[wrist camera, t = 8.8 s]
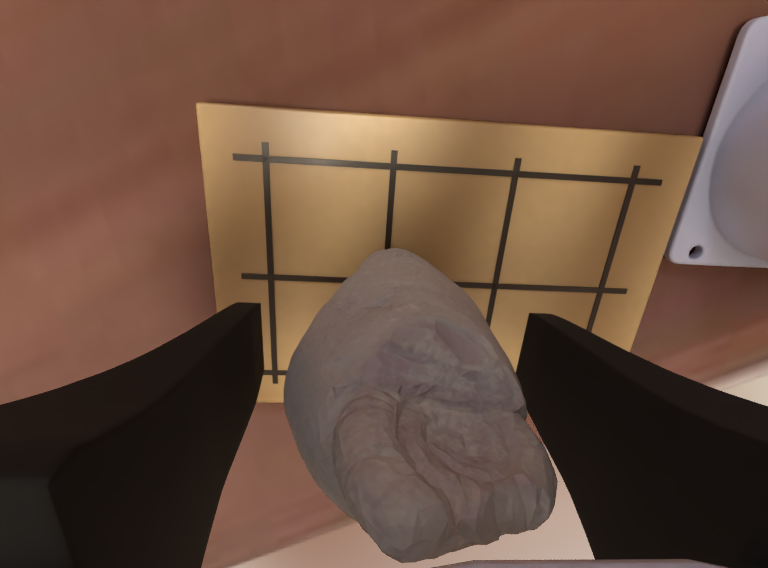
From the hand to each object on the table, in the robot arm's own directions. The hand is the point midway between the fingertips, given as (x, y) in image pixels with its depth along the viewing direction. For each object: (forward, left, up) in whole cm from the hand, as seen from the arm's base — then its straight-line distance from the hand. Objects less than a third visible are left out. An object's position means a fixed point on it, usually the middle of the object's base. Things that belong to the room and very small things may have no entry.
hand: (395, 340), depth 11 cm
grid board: (-2, 0, -5) cm, 5 cm away
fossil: (0, 0, -4) cm, 4 cm away
